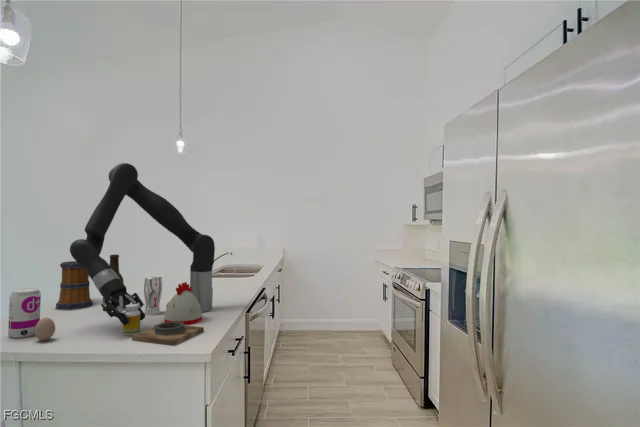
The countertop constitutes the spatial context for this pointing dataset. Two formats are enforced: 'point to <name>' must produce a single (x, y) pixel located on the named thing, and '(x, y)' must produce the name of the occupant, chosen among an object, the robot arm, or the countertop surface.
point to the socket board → (167, 338)
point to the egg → (44, 329)
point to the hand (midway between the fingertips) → (135, 320)
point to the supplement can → (24, 312)
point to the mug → (74, 287)
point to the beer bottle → (114, 267)
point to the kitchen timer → (183, 307)
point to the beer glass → (152, 295)
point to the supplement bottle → (132, 320)
